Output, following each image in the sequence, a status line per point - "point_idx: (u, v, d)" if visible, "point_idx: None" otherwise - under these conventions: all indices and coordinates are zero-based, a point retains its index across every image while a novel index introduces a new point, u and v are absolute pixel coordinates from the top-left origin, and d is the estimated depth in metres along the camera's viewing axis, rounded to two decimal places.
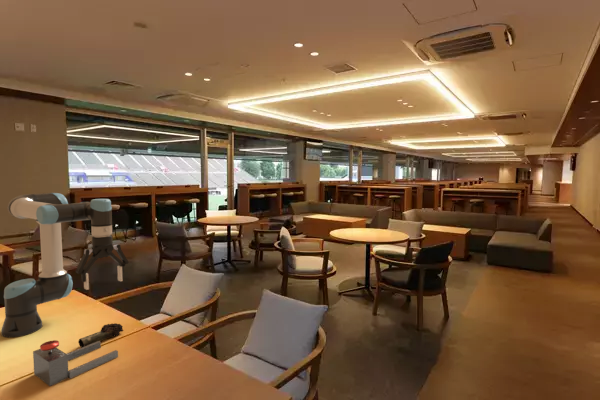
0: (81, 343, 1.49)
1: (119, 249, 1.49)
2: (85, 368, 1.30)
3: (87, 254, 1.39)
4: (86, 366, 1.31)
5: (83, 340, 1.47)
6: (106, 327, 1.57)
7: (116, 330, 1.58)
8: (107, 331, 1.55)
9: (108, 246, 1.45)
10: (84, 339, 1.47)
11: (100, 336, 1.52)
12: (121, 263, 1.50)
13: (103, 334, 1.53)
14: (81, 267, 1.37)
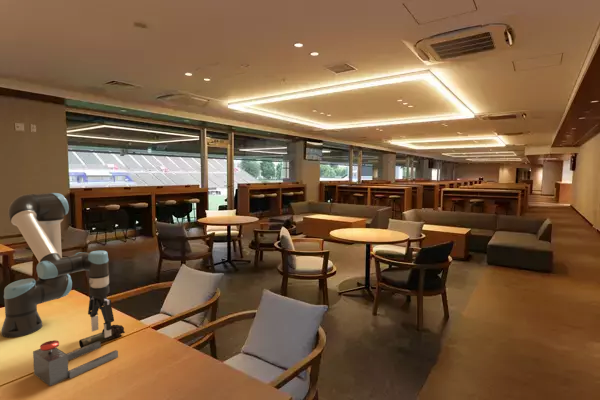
0: (82, 344, 1.48)
1: (104, 305, 1.50)
2: (85, 368, 1.30)
3: (90, 299, 1.56)
4: (86, 366, 1.31)
5: (83, 341, 1.46)
6: None
7: (117, 332, 1.56)
8: None
9: (99, 297, 1.52)
10: (84, 340, 1.46)
11: (100, 338, 1.51)
12: (104, 320, 1.50)
13: None
14: (88, 309, 1.57)
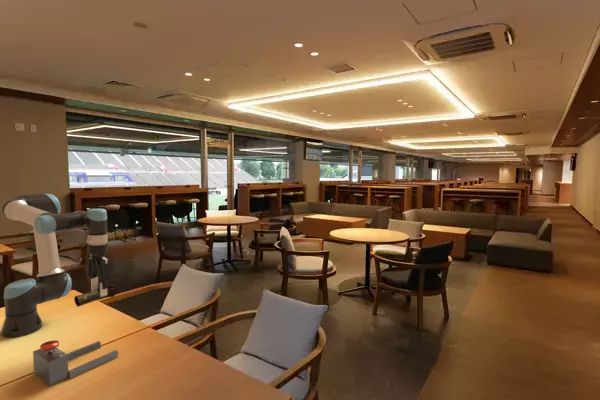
0: (77, 300, 1.47)
1: (102, 264, 1.48)
2: (85, 368, 1.30)
3: (88, 259, 1.54)
4: (86, 366, 1.31)
5: (79, 298, 1.45)
6: None
7: (113, 292, 1.56)
8: None
9: (98, 254, 1.50)
10: (80, 297, 1.46)
11: (96, 296, 1.50)
12: (101, 278, 1.50)
13: (99, 294, 1.51)
14: (88, 270, 1.55)
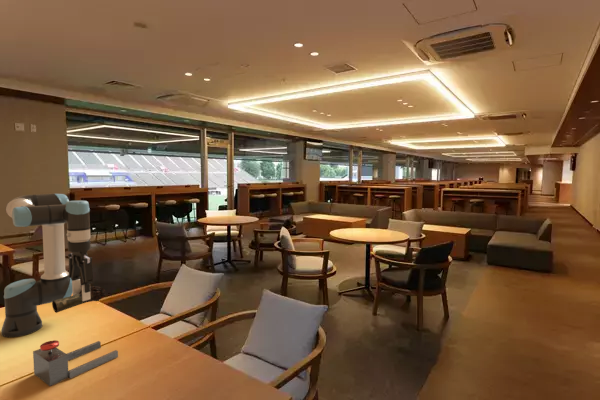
0: (55, 305, 1.28)
1: (84, 263, 1.29)
2: (85, 368, 1.30)
3: (69, 258, 1.36)
4: (86, 366, 1.31)
5: (57, 303, 1.26)
6: None
7: (97, 295, 1.37)
8: None
9: (79, 253, 1.31)
10: (59, 302, 1.27)
11: (77, 300, 1.31)
12: (83, 280, 1.31)
13: None
14: (69, 271, 1.36)
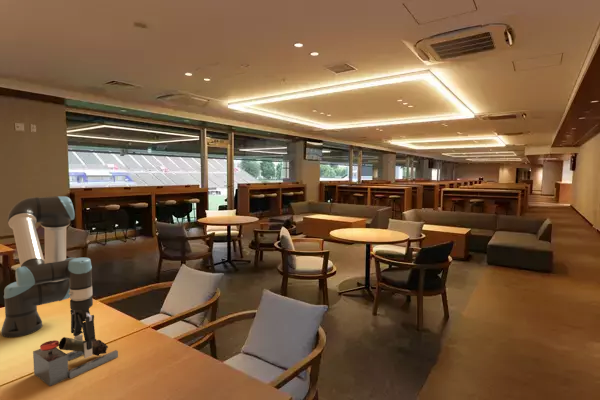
0: (61, 344, 1.31)
1: (86, 322, 1.31)
2: (85, 368, 1.30)
3: (71, 314, 1.37)
4: (86, 366, 1.31)
5: (67, 339, 1.30)
6: (92, 340, 1.39)
7: (100, 347, 1.39)
8: (92, 343, 1.37)
9: (81, 310, 1.33)
10: (68, 338, 1.31)
11: (83, 344, 1.34)
12: (85, 338, 1.33)
13: None
14: (71, 327, 1.38)
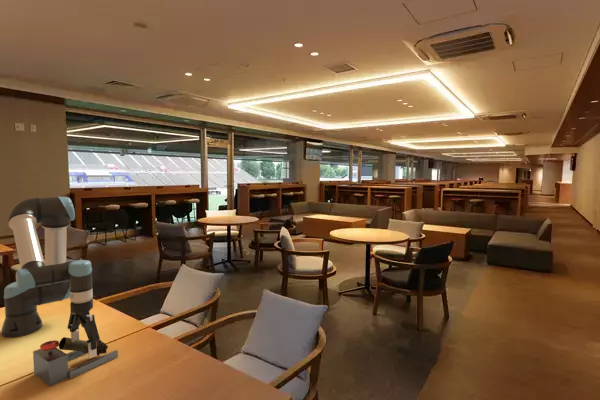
0: (61, 344, 1.31)
1: (87, 322, 1.31)
2: (85, 368, 1.30)
3: (71, 313, 1.38)
4: (86, 366, 1.31)
5: (67, 339, 1.30)
6: None
7: (101, 347, 1.39)
8: None
9: (81, 314, 1.33)
10: (68, 338, 1.31)
11: (83, 344, 1.34)
12: (89, 338, 1.31)
13: (87, 344, 1.35)
14: (68, 323, 1.40)
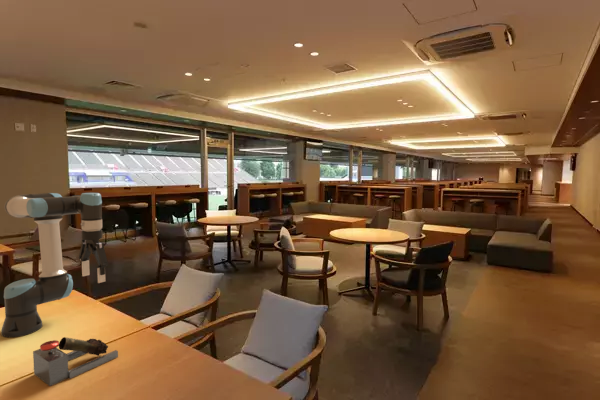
0: (61, 344, 1.31)
1: (97, 248, 1.40)
2: (85, 368, 1.30)
3: (82, 243, 1.47)
4: (86, 366, 1.31)
5: (67, 339, 1.30)
6: (92, 340, 1.40)
7: (101, 347, 1.39)
8: (92, 343, 1.37)
9: (91, 242, 1.42)
10: (68, 338, 1.31)
11: (83, 344, 1.34)
12: (98, 264, 1.40)
13: (87, 344, 1.36)
14: (80, 253, 1.49)
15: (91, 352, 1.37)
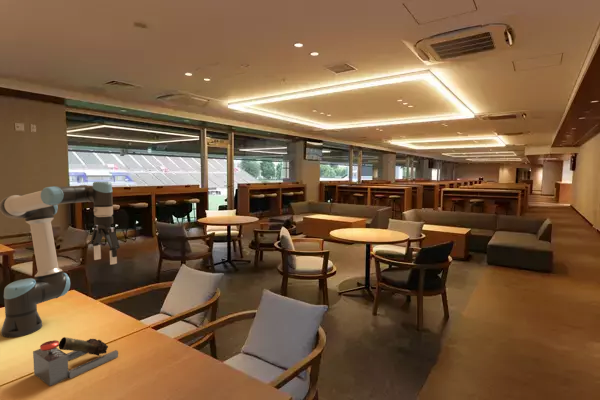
0: (61, 344, 1.31)
1: (109, 232, 1.51)
2: (85, 368, 1.30)
3: (94, 229, 1.58)
4: (86, 366, 1.31)
5: (67, 339, 1.30)
6: (92, 340, 1.40)
7: (101, 347, 1.39)
8: (92, 343, 1.37)
9: (103, 227, 1.53)
10: (68, 338, 1.31)
11: (83, 344, 1.34)
12: (110, 247, 1.51)
13: (87, 344, 1.36)
14: (91, 239, 1.60)
15: (91, 352, 1.37)
